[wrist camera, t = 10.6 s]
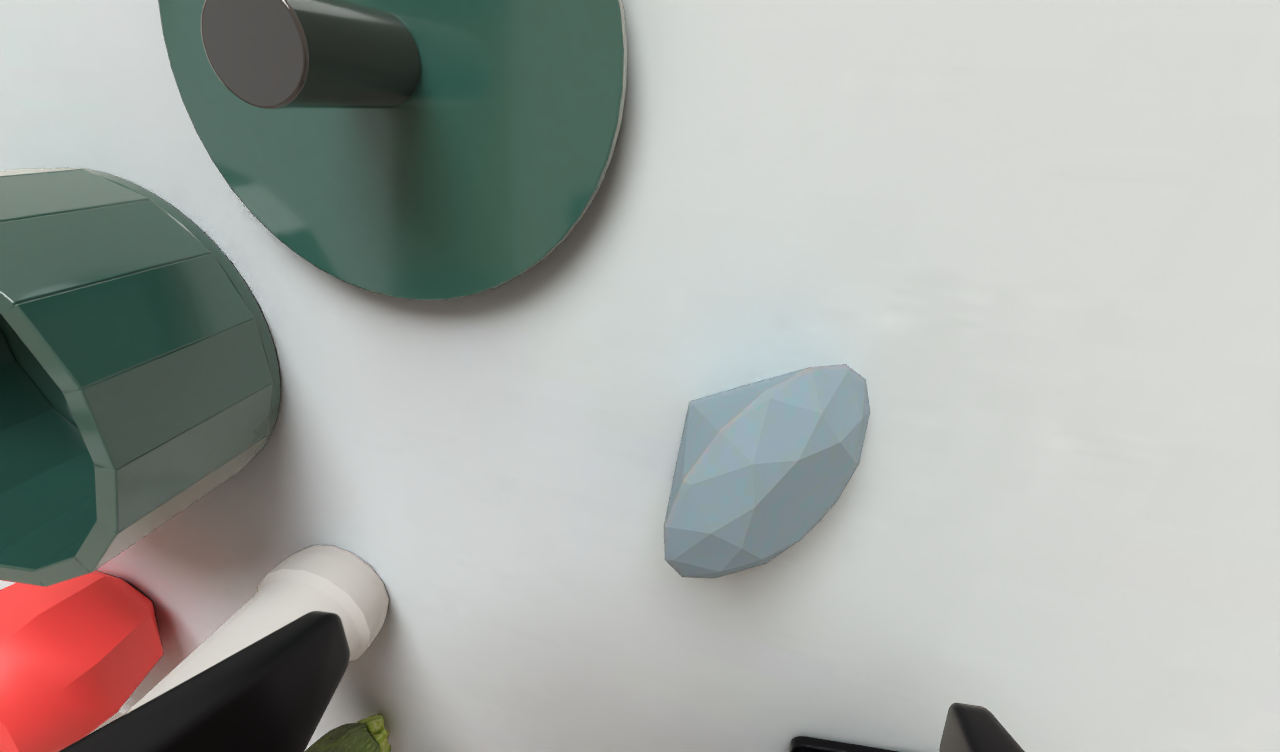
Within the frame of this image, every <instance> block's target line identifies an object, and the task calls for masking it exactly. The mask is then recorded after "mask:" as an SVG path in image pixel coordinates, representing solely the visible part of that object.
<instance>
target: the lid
mask: <svg viewBox="0 0 1280 752" xmlns="http://www.w3.org/2000/svg"><path fill="white" fill-rule="evenodd" d="M158 2H159V9H160V16H161V23H162V30H163V36H164V40H165V44H166V48H167V52H168V56H169V60H170V64H171V68H172V71H173V74H174V77H175V80H176V83H177V86H178V89H179V92H180V95H181V98H182V101H183V103H184V105H185V107H186V110H187V112H188V114H189V116H190V119H191V121H192V123H193V125H194V128H195V130H196V132H197V134H198V136H199V138H200V139H201V141H202V143H203V145H204V146H205V148H206V150H207V152H208V154H209V155H210V157H211V159H212V161H213V162H214V164H215V165H216V167H217V168H218V170H219V171H220V173H221V174H222V176H223V177H224V179H225V180H226V181H227V183H228V184H229V186H230V187H231V189H232V190H233V191H234V192H235V194H236V195H237V196H238V197H239V198H240V200H241V201H242V202H243V203H244V204H245V206H246V207H247V208H248V209H249V210H250V212H251V213H252V214H253V215H254V216H255V217H256V218H257V219H258V220H259V221H260V222H261V223H262V224H263V225H264V226H265V227H266V228H267V229H268V230H269V231H270V232H271V233H272V234H273V235H274V236H276V237H277V238H278V239H279V240H280V241H282V242H283V243H284V244H285V245H287V246H288V247H289V248H290V249H291V250H293V251H294V252H295V253H296V254H298V255H299V256H301V257H302V258H304V259H305V260H307V261H309V262H310V263H312V264H313V265H315V266H316V267H318V268H319V269H321V270H323V271H325V272H327V273H329V274H331V275H333V276H334V277H336V278H338V279H340V280H342V281H344V282H347V283H349V284H352V285H355V286H357V287H360V288H363V289H365V290H368V291H371V292H375V293H379V294H384V295H388V296H392V297H396V298H405V299H415V300H448V299H453V298H459V297H465V296H470V295H474V294H477V293H480V292H483V291H486V290H490V289H493V288H496V287H498V286H500V285H502V284H504V283H506V282H508V281H510V280H512V279H514V278H516V277H518V276H520V275H521V274H523V273H524V272H526V271H527V270H528V269H530V268H531V267H533V266H534V265H535V264H537V263H538V262H540V261H541V260H542V259H544V258H545V257H547V256H548V255H549V254H550V253H551V252H552V251H553V250H554V249H555V248H556V247H557V246H558V245H559V244H560V243H561V242H562V241H563V240H564V239H565V238H566V237H567V236H568V235H569V233H570V232H571V231H572V229H573V228H574V227H575V226H576V224H577V223H578V222H579V221H580V219H581V218H582V217H583V215H584V214H585V212H586V210H587V209H588V207H589V205H590V204H591V202H592V200H593V198H594V197H595V195H596V193H597V191H598V190H599V188H600V185H601V183H602V181H603V178H604V176H605V173H606V171H607V169H608V166H609V164H610V161H611V159H612V156H613V152H614V148H615V145H616V141H617V138H618V134H619V130H620V127H621V121H622V114H623V108H624V101H625V94H626V79H627V41H626V29H625V16H624V9H623V4H622V0H158Z"/></svg>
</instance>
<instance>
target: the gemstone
mask: <svg viewBox="0 0 1280 752" xmlns="http://www.w3.org/2000/svg"><path fill="white" fill-rule="evenodd" d="M869 414H870V406H869V399H868V392H867V385H866V379H865V378H863V377H862V376H861V375H859V374H858V373H857V372H855V371H854V370H853V369H851V368H850V367H849V366H847V365H846V364H842V365H831V366H819V367H809V368H806V369H802V370H798V371H795V372H791V373H788V374H784V375H780V376H777V377H773V378H770V379H766V380H762V381H759V382H755V383H752V384H748V385H744V386H741V387H737V388H734V389H731V390H727V391H724V392H720V393H717V394H714V395H710V396H707V397H703V398H700V399H697V400H693V401H690V402H689V407H688V412H687V416H686V421H685V425H684V430H683V435H682V439H681V444H680V449H679V453H678V458H677V463H676V468H675V473H674V478H673V483H672V488H671V493H670V498H669V503H668V508H667V513H666V518H665V523H664V544H665V560H666V561H667V562H668V563H669V564H670V565H671V566H672V567H673V568H674V569H675V570H676V571H677V572H678V573H679V574H680V575H681V576H682V577H695V578H717V577H721V576H724V575H728V574H731V573H735V572H738V571H741V570H745V569H748V568H752V567H755V566H758V565H762V564H765V563H767V562H769V561H770V560H771V559H773V558H774V557H776V556H777V555H779V554H780V553H782V552H783V551H785V550H786V549H788V548H789V547H790V546H792V545H793V544H795V543H796V542H798V541H799V540H801V539H802V538H803V537H804V536H805V535H806V534H807V533H808V532H809V531H810V530H811V529H812V528H813V527H814V526H815V525H816V524H817V523H818V522H819V521H820V520H821V519H822V518H823V516H824V515H825V514H826V513H827V512H828V511H829V509H830V508H831V507H832V506H833V505H834V504H835V502H836V501H837V500H838V498H839V496H840V495H841V493H842V491H843V490H844V488H845V486H846V485H847V483H848V481H849V479H850V478H851V476H852V474H853V473H854V471H855V469H856V468H857V466H858V464H859V461H860V456H861V451H862V447H863V442H864V437H865V433H866V428H867V423H868V419H869Z"/></svg>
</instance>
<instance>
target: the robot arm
mask: <svg viewBox="0 0 1280 752" xmlns="http://www.w3.org/2000/svg"><path fill="white" fill-rule="evenodd" d="M349 659H350V649H349V645H348V642H347V638H346V635H345V631H344V627H343V624H342V620H341V618H340V617H339V616H338V615H337V614H335V613H330V612H323V611H312V612H309V613H307V614H305V615H303V616H301V617H300V618H298V619H296V620H294V621H292V622H291V623H289V624H287V625H285V626H283V627H282V628H280V629H278V630H276V631H274V632H273V633H271V634H269V635H267V636H265V637H264V638H262V639H260V640H258V641H256V642H255V643H253V644H251V645H249V646H247V647H246V648H244V649H242V650H240V651H238V652H237V653H235V654H233V655H231V656H229V657H228V658H226V659H224V660H222V661H220V662H219V663H217V664H215V665H213V666H211V667H210V668H208V669H206V670H204V671H202V672H201V673H199V674H197V675H195V676H193V677H192V678H190V679H188V680H186V681H184V682H183V683H181V684H179V685H177V686H175V687H174V688H172V689H170V690H168V691H166V692H165V693H163V694H161V695H159V696H157V697H156V698H154V699H152V700H150V701H148V702H147V703H145V704H143V705H141V706H139V707H138V708H136V709H134V710H132V711H130V712H129V713H127V714H125V715H123V716H121V717H120V718H118V719H116V720H114V721H112V722H111V723H109V724H107V725H105V726H104V727H102V728H100V729H98V730H96V731H94V732H93V733H91V734H89V735H87V736H85V737H84V738H82V739H80V740H78V741H76V742H75V743H73V744H71V745H69V746H67V747H66V748H64V749H62V750H60V751H58V752H304V751H305V749H306V747H307V745H308V743H309V741H310V739H311V737H312V735H313V733H314V731H315V729H316V727H317V725H318V723H319V722H320V720H321V718H322V716H323V714H324V712H325V710H326V708H327V706H328V704H329V702H330V700H331V698H332V696H333V694H334V692H335V690H336V688H337V686H338V685H339V683H340V681H341V679H342V677H343V675H344V673H345V671H346V669H347V666H348V663H349ZM790 752H897V751H890V750H884V749H878V748H872V747H866V746H860V745H853V744H847V743H841V742H835V741H829V740H822V739H816V738H810V737H802V736H799V737H795V738H794V739H792V741H791V745H790ZM940 752H1024V750H1023V749H1022V748H1021V747H1020V746H1019V745H1018V743H1017V742H1016V741H1015V740H1014V739H1013V738H1012V737H1011V735H1010V734H1009V733H1008V732H1007V731H1006V730H1005V728H1004V727H1003V726H1002V725H1001V724H1000V723H999V721H998V720H997V719H996V718H995V717H994V716H993V714H992V713H991V712H990V711H988V710H987V709H986V708H984V707H981V706H975V705H968V704H961V703H954V704H952V705H951V706H950V708H949V710H948V714H947V718H946V723H945V727H944V731H943V735H942V739H941V744H940Z"/></svg>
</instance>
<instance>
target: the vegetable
mask: <svg viewBox="0 0 1280 752" xmlns="http://www.w3.org/2000/svg"><path fill="white" fill-rule="evenodd" d="M388 736H389V731H388V730H385V729H384V720H383V716H382V715H380V714H378V715H373V716H370V717H368V718H365V719H362V720H360V721H358V722H357V723H350V724H345V725H342V726H339V727H337V728H335V729H333V730H331V731H329V732H328V733H326V734H325V735H324V736H322V737H321V738H320V739H319V740H317V741H316V742H315V743H314V744H313V745H311V746H310V747H309V748H308V749H307V750H306V751H305V752H391V745H389V743H388Z"/></svg>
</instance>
